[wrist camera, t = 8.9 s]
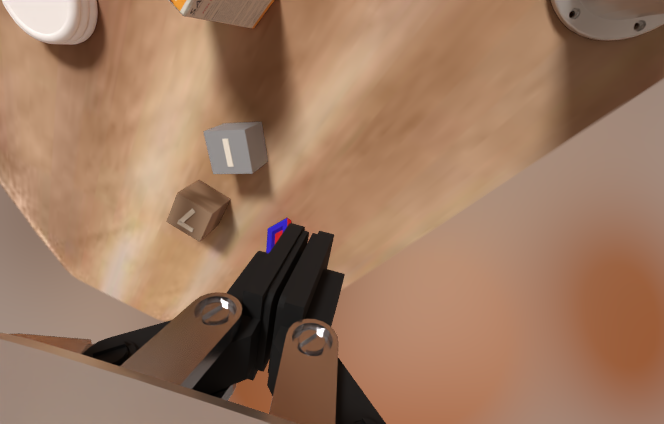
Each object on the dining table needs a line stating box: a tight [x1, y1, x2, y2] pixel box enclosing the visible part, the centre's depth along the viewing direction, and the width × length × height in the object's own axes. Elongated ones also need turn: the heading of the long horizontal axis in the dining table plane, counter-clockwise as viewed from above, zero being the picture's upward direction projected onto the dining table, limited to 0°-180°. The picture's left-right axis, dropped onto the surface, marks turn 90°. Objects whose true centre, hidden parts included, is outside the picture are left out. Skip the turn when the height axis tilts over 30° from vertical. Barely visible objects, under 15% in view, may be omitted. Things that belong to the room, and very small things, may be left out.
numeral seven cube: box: [167, 180, 230, 242], centre depth 45 cm, size 5×5×5 cm
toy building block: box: [266, 218, 291, 253], centre depth 45 cm, size 4×4×8 cm
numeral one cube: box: [203, 122, 268, 174], centre depth 40 cm, size 5×5×5 cm
